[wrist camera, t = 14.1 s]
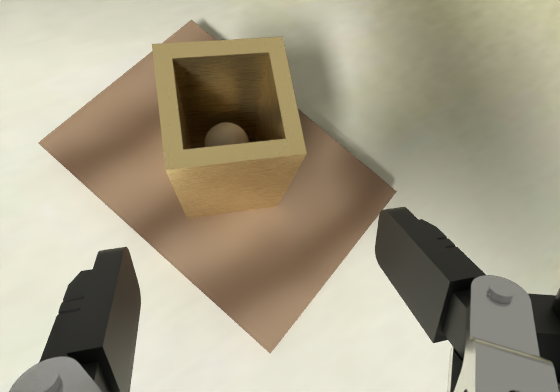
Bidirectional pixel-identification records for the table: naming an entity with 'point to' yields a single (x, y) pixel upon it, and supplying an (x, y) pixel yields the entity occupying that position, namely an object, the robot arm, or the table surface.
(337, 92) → the table surface
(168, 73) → the wooden sleeve
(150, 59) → the post board
